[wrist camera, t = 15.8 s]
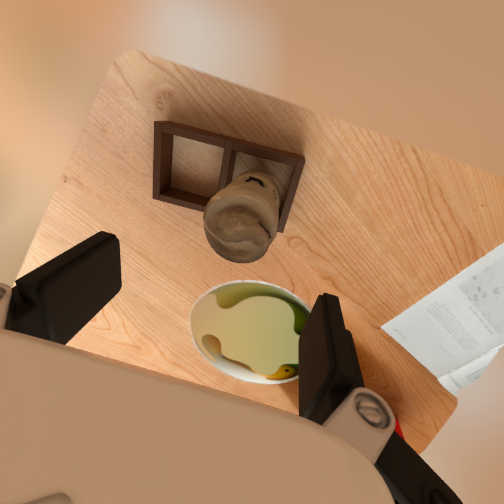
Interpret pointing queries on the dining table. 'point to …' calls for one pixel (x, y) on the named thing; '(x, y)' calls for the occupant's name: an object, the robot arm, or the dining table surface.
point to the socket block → (231, 146)
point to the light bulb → (243, 217)
